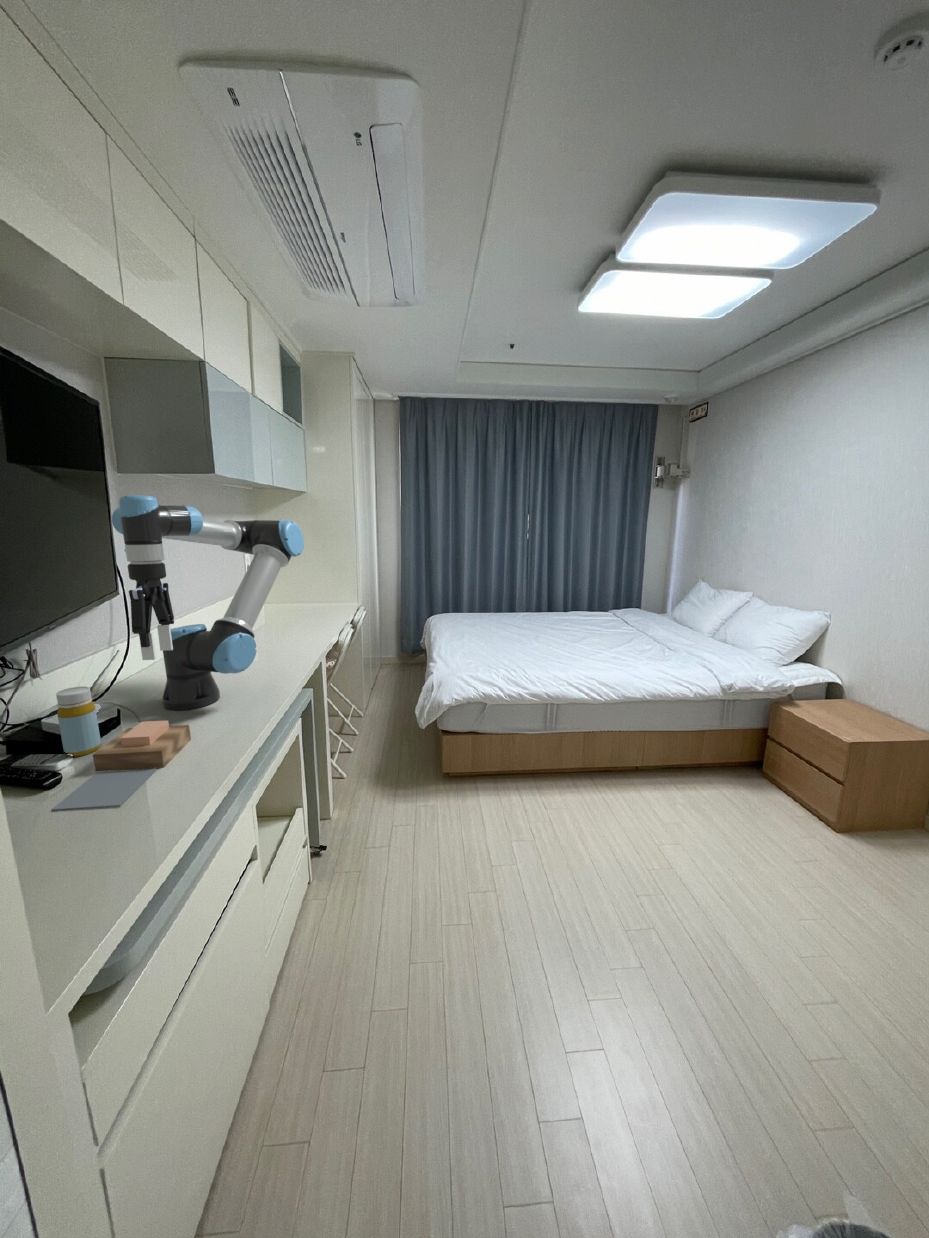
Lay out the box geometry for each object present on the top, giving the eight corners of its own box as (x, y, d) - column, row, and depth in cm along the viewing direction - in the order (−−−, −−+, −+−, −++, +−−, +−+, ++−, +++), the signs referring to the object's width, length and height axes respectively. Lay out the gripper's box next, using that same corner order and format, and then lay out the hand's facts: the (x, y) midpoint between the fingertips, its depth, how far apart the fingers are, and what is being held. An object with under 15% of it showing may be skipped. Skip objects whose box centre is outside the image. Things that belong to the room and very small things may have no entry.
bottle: (105, 742, 120) (96, 684, 117) (96, 754, 113) (86, 693, 110) (71, 746, 117) (60, 687, 114) (59, 759, 111) (48, 697, 108)
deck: (130, 742, 119) (128, 727, 119) (191, 739, 121) (189, 724, 120) (95, 771, 106) (92, 754, 105) (163, 767, 107) (161, 750, 107)
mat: (97, 773, 105) (97, 771, 105) (156, 770, 106) (156, 768, 106) (51, 811, 91) (51, 809, 91) (120, 806, 93) (120, 804, 93)
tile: (142, 729, 118) (141, 721, 117) (169, 728, 118) (168, 720, 118) (121, 746, 109) (120, 737, 108) (150, 744, 110) (149, 736, 109)
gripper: (151, 559, 125) (162, 644, 130) (102, 566, 105) (117, 667, 109) (182, 558, 126) (192, 643, 130) (139, 566, 106) (153, 666, 110)
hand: (158, 654), depth 120 cm, fingers open, 8 cm apart
